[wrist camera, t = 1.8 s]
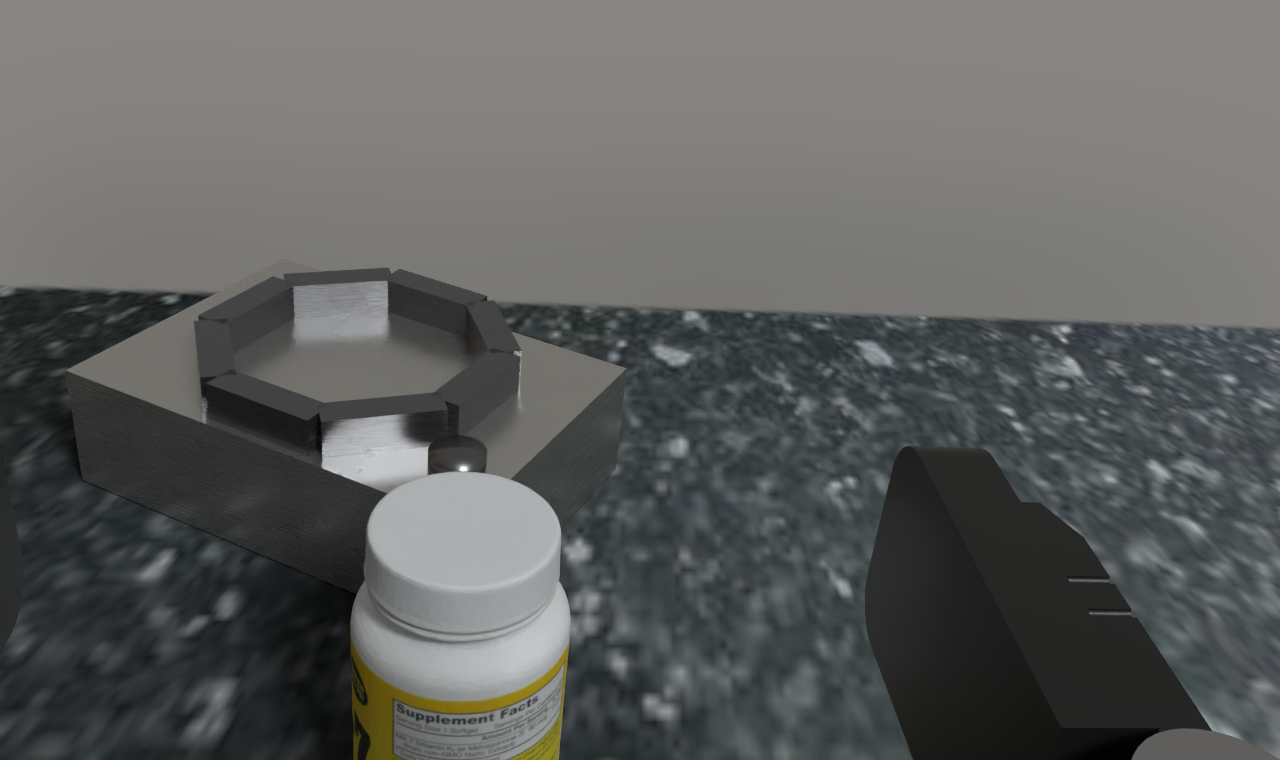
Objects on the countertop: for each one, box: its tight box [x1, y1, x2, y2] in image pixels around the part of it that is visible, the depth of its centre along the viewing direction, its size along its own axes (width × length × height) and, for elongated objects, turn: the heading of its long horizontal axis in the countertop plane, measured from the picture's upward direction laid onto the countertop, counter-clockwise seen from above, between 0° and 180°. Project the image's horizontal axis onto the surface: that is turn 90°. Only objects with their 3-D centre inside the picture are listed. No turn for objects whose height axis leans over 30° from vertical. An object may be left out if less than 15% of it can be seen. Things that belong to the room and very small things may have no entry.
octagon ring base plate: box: [66, 259, 627, 594], centre depth 39 cm, size 14×10×5 cm
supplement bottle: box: [350, 472, 571, 760], centre depth 27 cm, size 5×5×8 cm
